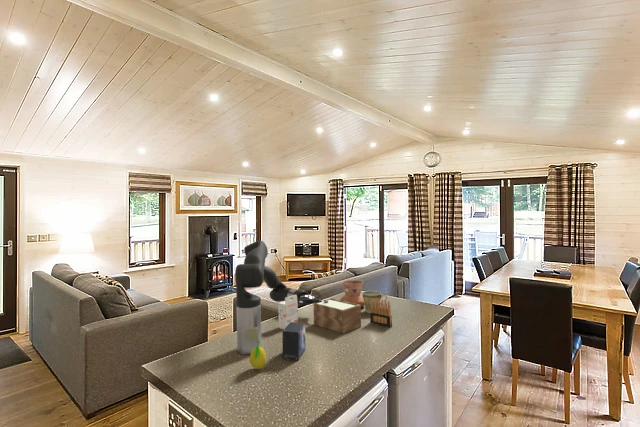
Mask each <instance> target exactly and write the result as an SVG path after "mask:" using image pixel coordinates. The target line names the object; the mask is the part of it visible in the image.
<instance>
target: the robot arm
mask: <svg viewBox="0 0 640 427" xmlns="http://www.w3.org/2000/svg"><path fill="white" fill-rule="evenodd" d="M243 250H244V254H245V258H244V261H243V264H242V263H241V264H240V263H239V264H237V265H236V267H235V271H234V272H235V274H234V275H235V278H234V279H235V291H236V292H235V293H236V341H237V342H236V344H237V345H236V346H237V348H236V349H237V352H238V354H241V355H249V354H250V355H251V352H252V350H253V349H254V348H256V347H257V345H258V346H259V347H261V348H262V317H261V316H262V315H261V314H262V312H261V311H262V307H261V305H262V303H261V302H262V301H261V297H260V296H259V295H257V294H253V293H250V292H249V291H247V289H251V288H252V289H253V288H260V287H261V286H262V285H263V283H264V282H265V285H266V286H267V287H268V288H269V289H271V290H270V292H269V298H270V299H271V300H272V301H274V302H278V303H280V302H284V301H285V298H286V297H289V296H292V295H297V301H298V306H299V305H300V306H305V305H314V304H313V303H320V302H323V301H322V299H319V296H318V294H315V295H312V294H308V291H305V290H304V289H298V288H291V287H288V286H287V285H285V283H283V282H282V281H281V280H280V279H279V277H278V276H277V274H276V272H275V271H274V270H273V269H272V268H271V267H269V266H266V265H265V264H266V258H267V257H268V255H269V251H268V250H269V249H268V247H267V244H266V243H265V241H263V240H256V241H254V242H252V243H250V244H248V245H246V246H245V247H244V248H243ZM290 299H291V300H292V299H293V298H290ZM290 299H289V300H290ZM259 340H260V344H261V345H260V344H259V343H258V341H259Z"/></svg>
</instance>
